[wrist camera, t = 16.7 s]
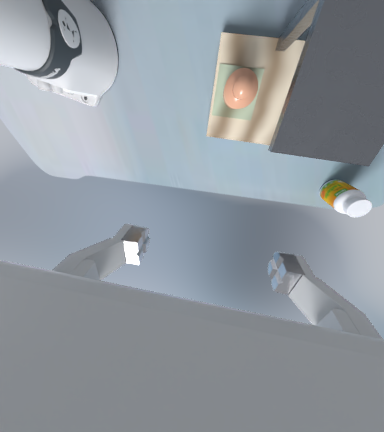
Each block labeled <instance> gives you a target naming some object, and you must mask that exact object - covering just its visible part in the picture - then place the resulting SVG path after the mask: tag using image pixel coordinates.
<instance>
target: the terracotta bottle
mask: <svg viewBox="0 0 384 432" xmlns="http://www.w3.org/2000/svg"><path fill="white" fill-rule="evenodd" d="M257 91H258V79H257V76H256V74H255V73H254V72H253V71H252V70H251V69H248V68H240V69H237V70H236V71H234V72H233V73H232V74H231V75H230V76H229V78H228V80H227V82H226V85H225V87H224V91H223V100H224V103H225V105H226V106H227V107H228V108H230V109H241V108H244V107H246V106H248V105H249V104H250V103H251V102H252V101H253V100H254V98H255V97H256V94H257Z"/></svg>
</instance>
